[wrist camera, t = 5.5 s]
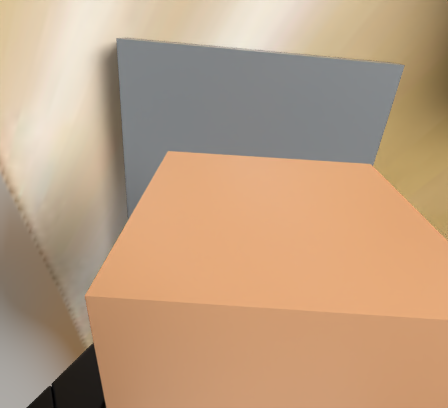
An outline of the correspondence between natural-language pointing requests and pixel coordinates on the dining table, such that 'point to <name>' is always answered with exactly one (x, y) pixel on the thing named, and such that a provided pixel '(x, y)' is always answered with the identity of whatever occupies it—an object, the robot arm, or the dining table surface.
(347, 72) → the baseplate
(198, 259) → the brick bottom
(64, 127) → the dining table surface
